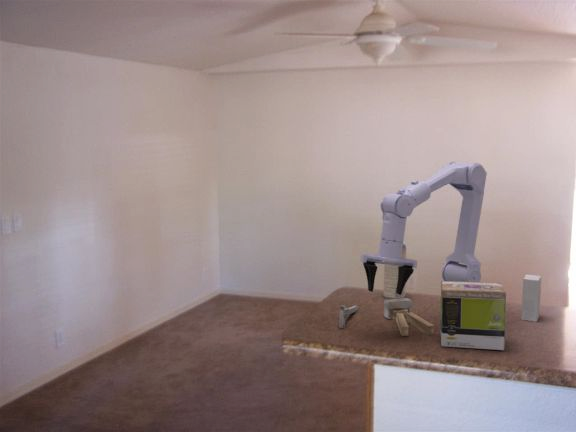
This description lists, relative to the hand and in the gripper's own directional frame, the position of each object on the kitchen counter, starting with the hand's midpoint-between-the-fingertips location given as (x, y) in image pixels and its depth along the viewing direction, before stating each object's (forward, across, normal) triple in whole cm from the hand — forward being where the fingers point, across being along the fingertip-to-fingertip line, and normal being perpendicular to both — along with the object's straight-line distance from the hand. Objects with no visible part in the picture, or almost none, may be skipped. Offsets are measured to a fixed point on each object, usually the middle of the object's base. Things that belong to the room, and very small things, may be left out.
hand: (384, 292), depth 155 cm
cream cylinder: (+7, +16, +35) cm, 39 cm away
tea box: (+9, +21, -8) cm, 25 cm away
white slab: (+9, +10, +15) cm, 20 cm away
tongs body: (+9, +11, +8) cm, 17 cm away
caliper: (+12, -4, +16) cm, 20 cm away
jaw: (+10, +8, +5) cm, 14 cm away
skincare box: (+4, +47, +8) cm, 47 cm away
